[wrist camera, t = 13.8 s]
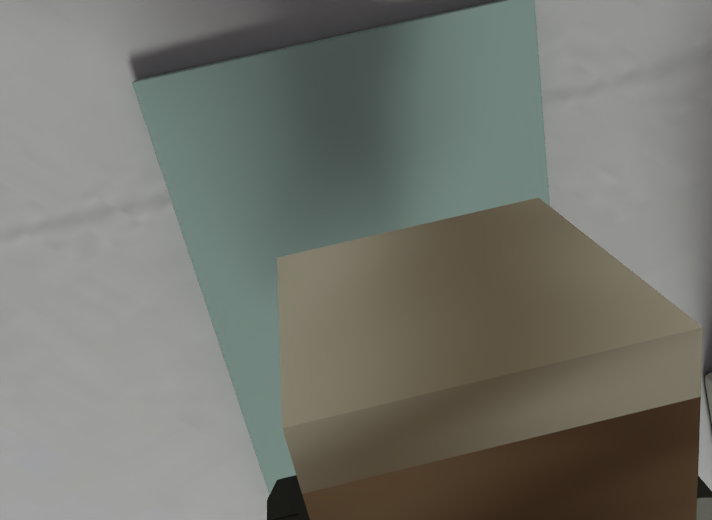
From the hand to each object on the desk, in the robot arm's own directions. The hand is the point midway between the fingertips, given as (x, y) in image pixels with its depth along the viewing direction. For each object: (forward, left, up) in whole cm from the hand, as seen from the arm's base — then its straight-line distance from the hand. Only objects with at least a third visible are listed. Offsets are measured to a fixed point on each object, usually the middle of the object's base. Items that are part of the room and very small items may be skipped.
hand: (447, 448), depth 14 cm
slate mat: (0, -1, -9) cm, 9 cm away
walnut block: (0, -7, +2) cm, 7 cm away
